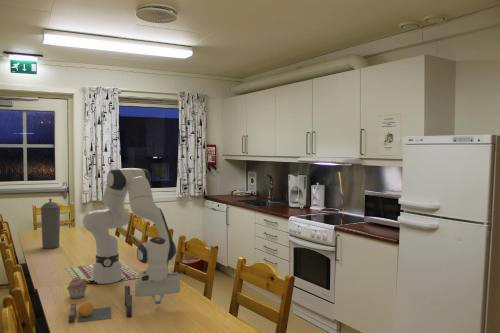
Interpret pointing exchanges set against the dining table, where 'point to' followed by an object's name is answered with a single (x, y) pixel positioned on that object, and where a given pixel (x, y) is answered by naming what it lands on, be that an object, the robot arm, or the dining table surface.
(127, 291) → the post
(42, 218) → the canister
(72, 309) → the stopper wall
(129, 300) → the post
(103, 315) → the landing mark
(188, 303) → the dining table surface
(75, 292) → the cupcake
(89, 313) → the ball
